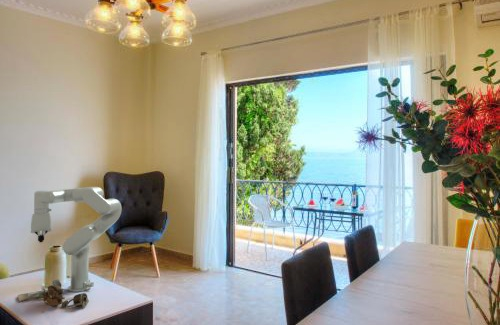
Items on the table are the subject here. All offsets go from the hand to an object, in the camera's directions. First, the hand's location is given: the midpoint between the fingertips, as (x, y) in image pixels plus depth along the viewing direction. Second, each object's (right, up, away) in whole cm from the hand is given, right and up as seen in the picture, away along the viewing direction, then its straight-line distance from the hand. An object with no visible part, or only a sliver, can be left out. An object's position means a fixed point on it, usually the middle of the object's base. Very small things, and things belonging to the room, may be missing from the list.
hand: (41, 241), depth 213 cm
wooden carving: (+22, -27, -27) cm, 44 cm away
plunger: (+10, -26, -14) cm, 31 cm away
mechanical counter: (+35, -28, -28) cm, 52 cm away
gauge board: (+7, -27, -14) cm, 31 cm away
